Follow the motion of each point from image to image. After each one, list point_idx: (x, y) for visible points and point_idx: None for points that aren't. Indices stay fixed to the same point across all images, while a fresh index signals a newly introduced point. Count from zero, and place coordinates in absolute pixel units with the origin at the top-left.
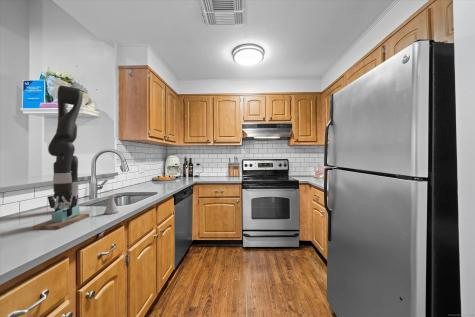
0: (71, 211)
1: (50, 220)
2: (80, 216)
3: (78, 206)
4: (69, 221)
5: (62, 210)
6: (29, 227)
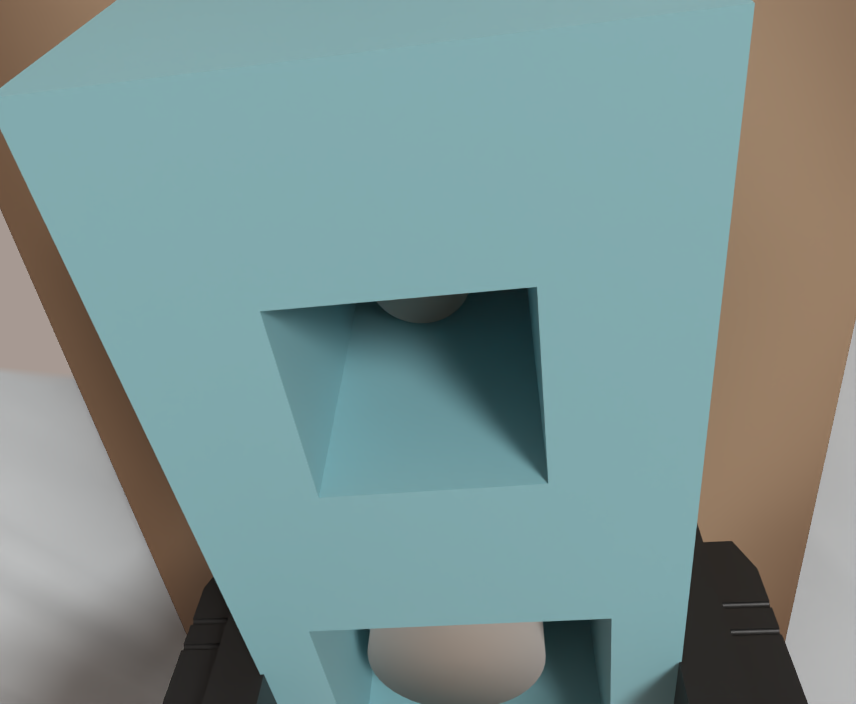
0: (778, 669)
1: (203, 562)
2: (809, 141)
3: (740, 99)
4: (783, 619)
5: (316, 623)
6: (90, 685)
